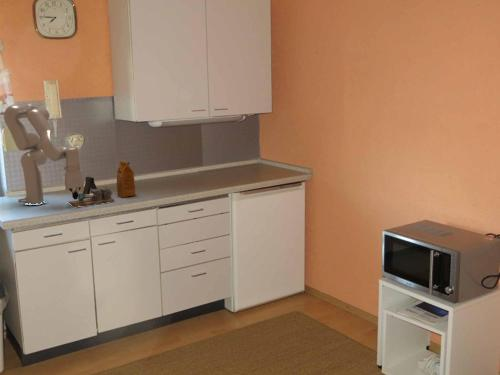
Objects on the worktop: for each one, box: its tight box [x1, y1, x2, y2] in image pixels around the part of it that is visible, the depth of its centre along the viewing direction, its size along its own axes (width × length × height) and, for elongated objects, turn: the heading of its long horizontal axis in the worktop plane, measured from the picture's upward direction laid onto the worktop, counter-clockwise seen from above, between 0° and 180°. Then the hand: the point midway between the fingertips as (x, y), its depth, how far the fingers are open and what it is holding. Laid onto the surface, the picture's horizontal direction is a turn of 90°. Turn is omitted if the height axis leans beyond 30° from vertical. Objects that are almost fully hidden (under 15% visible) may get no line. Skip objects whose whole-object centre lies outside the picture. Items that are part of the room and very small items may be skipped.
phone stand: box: [82, 176, 98, 195], centre depth 375 cm, size 9×6×12 cm, turn 131°
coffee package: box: [116, 159, 136, 198], centre depth 372 cm, size 10×12×22 cm
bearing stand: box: [68, 187, 115, 208], centre depth 356 cm, size 24×12×8 cm, turn 122°
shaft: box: [77, 190, 113, 201], centre depth 357 cm, size 20×4×4 cm, turn 122°
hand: (75, 198), depth 351 cm, fingers closed
